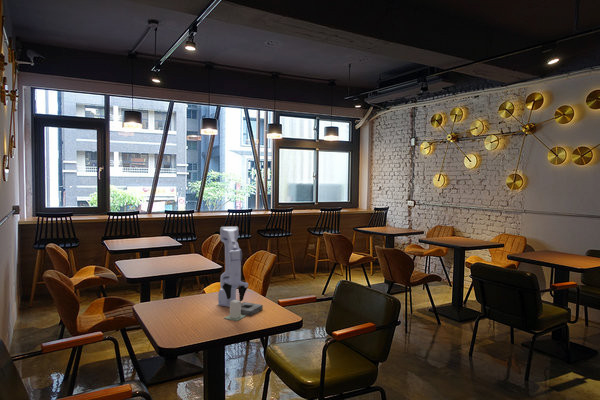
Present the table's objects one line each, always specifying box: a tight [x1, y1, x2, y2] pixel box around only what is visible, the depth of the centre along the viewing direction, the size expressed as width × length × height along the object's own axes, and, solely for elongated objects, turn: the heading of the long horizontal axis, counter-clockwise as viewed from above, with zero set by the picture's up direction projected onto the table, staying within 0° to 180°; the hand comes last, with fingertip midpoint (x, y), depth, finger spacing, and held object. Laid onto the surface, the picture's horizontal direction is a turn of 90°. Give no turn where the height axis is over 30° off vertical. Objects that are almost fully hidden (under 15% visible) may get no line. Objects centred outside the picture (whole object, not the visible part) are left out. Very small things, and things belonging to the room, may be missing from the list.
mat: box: [223, 314, 247, 322], centre depth 204 cm, size 8×8×1 cm
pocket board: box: [241, 301, 264, 317], centre depth 215 cm, size 12×12×2 cm
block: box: [229, 299, 242, 318], centre depth 204 cm, size 4×4×8 cm
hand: (235, 299), depth 204 cm, fingers open, 7 cm apart
